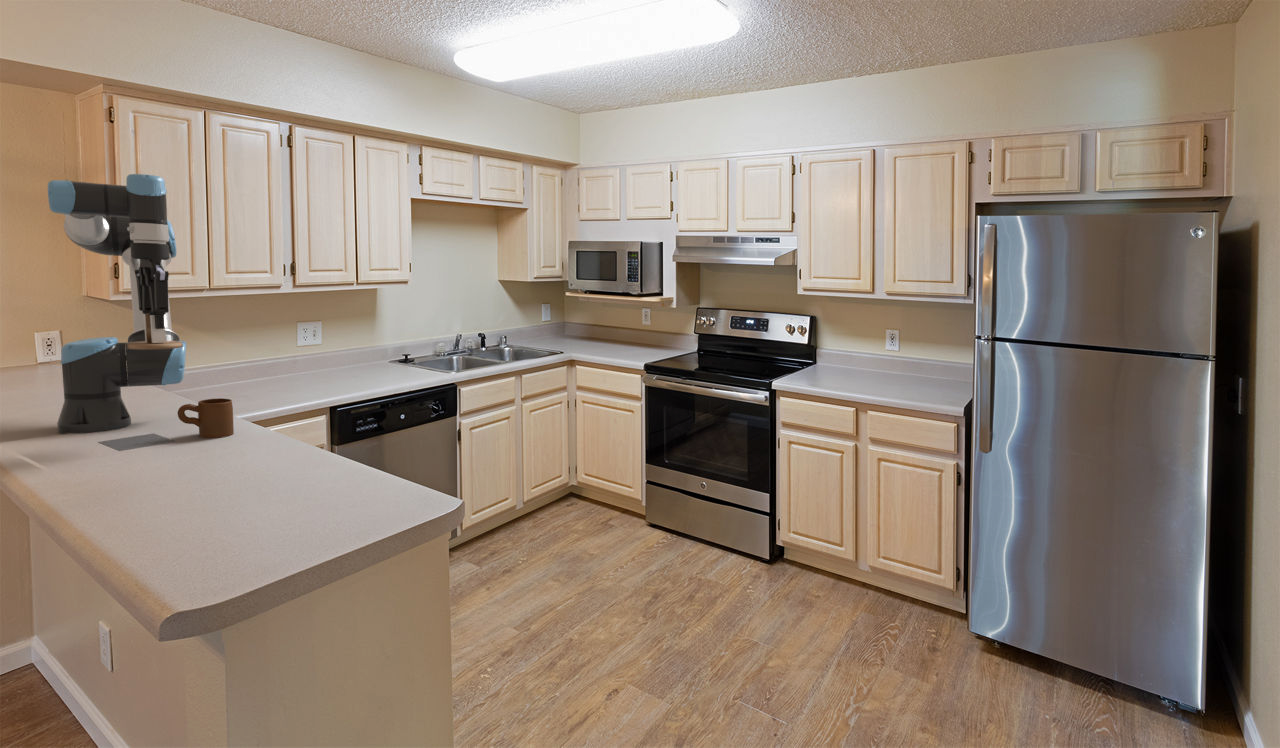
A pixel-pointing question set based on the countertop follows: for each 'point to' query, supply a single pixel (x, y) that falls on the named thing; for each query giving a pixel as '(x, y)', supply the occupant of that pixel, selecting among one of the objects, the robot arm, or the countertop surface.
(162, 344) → the lid
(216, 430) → the mug
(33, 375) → the countertop surface
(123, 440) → the mat
